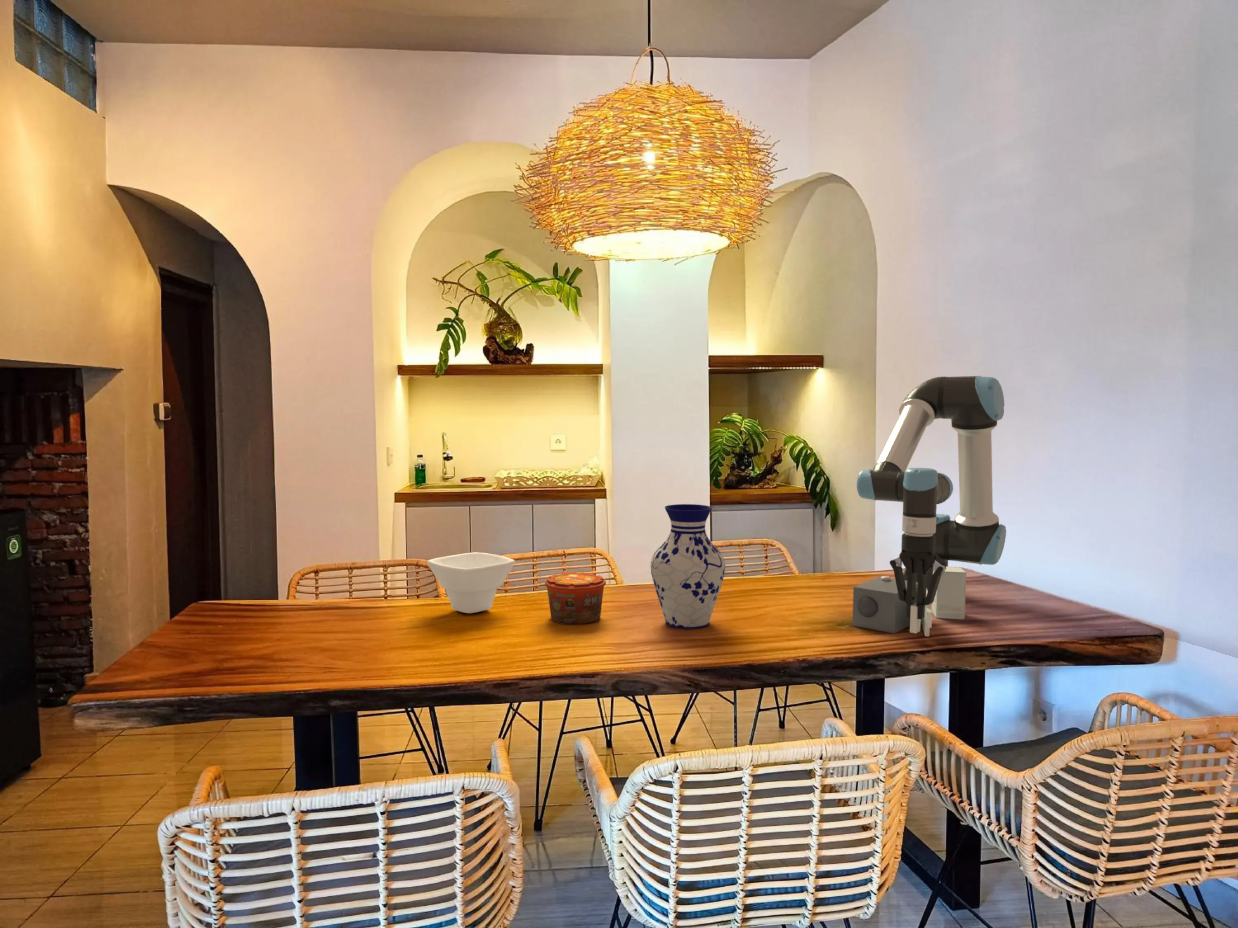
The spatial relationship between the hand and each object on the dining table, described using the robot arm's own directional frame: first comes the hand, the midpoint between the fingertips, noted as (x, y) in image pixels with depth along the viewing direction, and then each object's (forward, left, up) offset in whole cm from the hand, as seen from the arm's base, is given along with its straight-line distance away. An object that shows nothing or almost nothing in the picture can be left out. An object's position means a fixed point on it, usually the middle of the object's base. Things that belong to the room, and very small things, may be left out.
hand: (915, 631), depth 205 cm
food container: (+38, -75, -3) cm, 84 cm away
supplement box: (-29, -2, -3) cm, 30 cm away
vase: (+23, -50, -3) cm, 55 cm away
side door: (-10, -1, -2) cm, 10 cm away
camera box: (-11, -12, -2) cm, 17 cm away
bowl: (+51, -101, -3) cm, 113 cm away
